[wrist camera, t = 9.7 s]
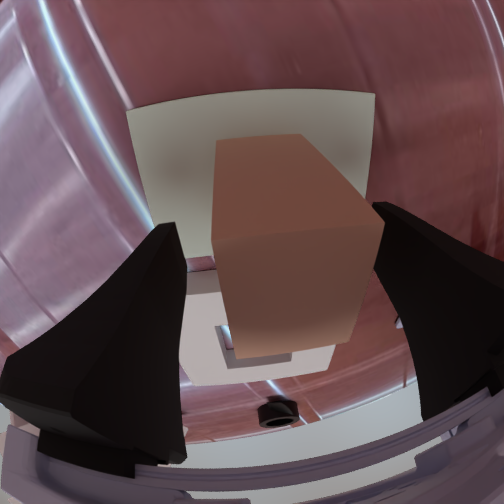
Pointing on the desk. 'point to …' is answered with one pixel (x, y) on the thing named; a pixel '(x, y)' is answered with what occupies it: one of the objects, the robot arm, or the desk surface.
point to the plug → (289, 245)
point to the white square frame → (213, 347)
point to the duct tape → (278, 414)
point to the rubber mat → (237, 126)
